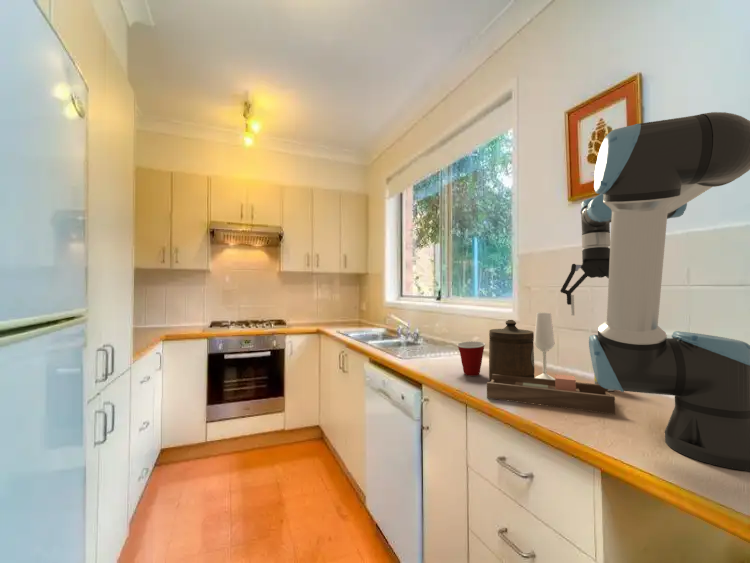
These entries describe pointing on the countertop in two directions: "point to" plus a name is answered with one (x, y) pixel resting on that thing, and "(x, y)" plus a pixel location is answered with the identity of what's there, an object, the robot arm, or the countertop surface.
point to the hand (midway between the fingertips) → (597, 315)
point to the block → (565, 383)
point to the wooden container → (511, 351)
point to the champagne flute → (544, 338)
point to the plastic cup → (471, 357)
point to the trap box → (551, 393)
